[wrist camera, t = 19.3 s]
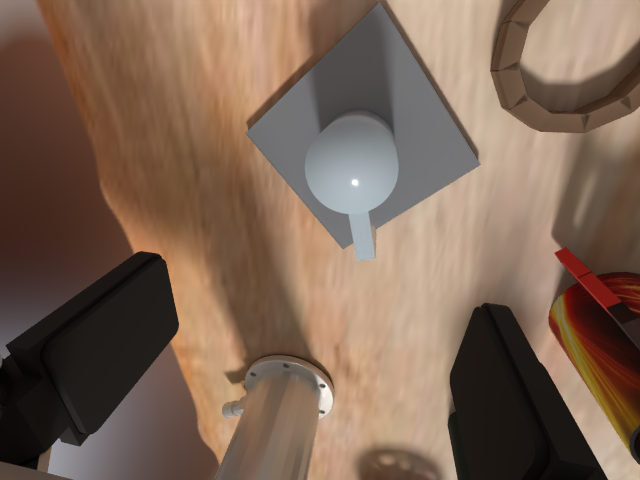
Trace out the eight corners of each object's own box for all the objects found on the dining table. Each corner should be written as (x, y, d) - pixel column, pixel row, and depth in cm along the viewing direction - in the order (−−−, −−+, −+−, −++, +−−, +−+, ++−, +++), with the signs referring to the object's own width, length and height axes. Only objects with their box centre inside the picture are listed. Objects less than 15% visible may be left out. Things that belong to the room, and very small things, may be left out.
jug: (316, 117, 26) (295, 131, 19) (390, 102, 24) (393, 112, 18) (338, 227, 30) (326, 266, 24) (402, 219, 28) (407, 260, 22)
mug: (554, 238, 27) (657, 339, 17) (699, 296, 28) (889, 431, 17) (489, 313, 32) (539, 428, 22) (612, 362, 32) (720, 499, 22)
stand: (515, 152, 25) (524, 158, 23) (473, 15, 21) (480, 11, 20) (683, 80, 21) (708, 81, 19) (665, -101, 17) (693, -118, 16)
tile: (343, 245, 32) (342, 249, 31) (248, 131, 28) (245, 133, 27) (478, 162, 26) (480, 164, 25) (379, 3, 22) (379, 1, 21)
